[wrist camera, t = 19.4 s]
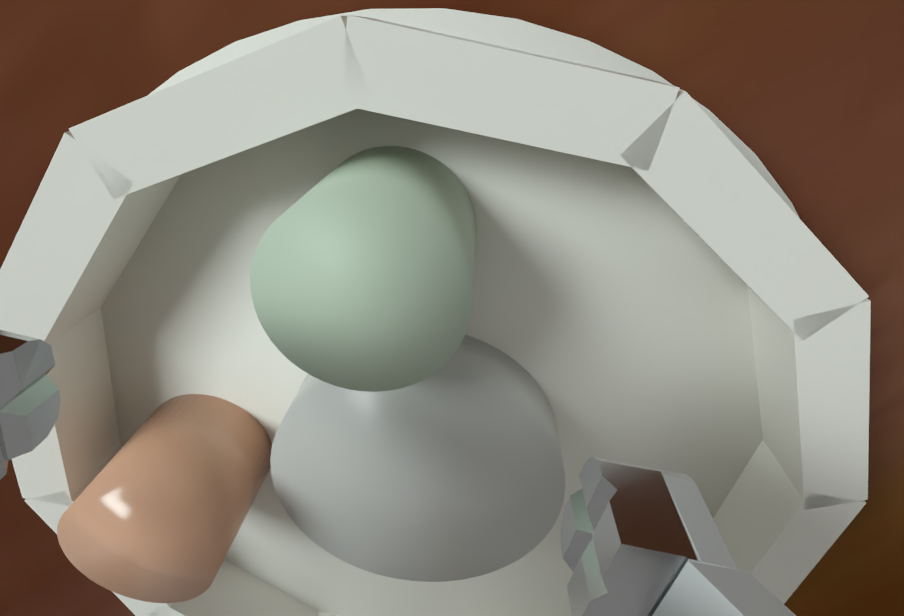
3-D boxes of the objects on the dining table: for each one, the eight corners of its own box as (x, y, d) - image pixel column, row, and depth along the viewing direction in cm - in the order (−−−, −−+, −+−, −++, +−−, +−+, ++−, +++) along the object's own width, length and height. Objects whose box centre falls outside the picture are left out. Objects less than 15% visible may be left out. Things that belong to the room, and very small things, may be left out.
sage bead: (381, 325, 16) (345, 421, 12) (283, 205, 14) (204, 269, 10) (506, 251, 14) (513, 332, 10) (414, 110, 13) (379, 143, 9)
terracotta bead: (234, 506, 20) (173, 621, 16) (129, 445, 19) (34, 552, 15) (297, 443, 18) (244, 555, 14) (184, 371, 17) (93, 471, 13)
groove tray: (458, 697, 27) (454, 783, 24) (-36, 427, 20) (-130, 498, 17) (978, 416, 17) (1088, 502, 14) (342, -299, 10) (278, -442, 7)
